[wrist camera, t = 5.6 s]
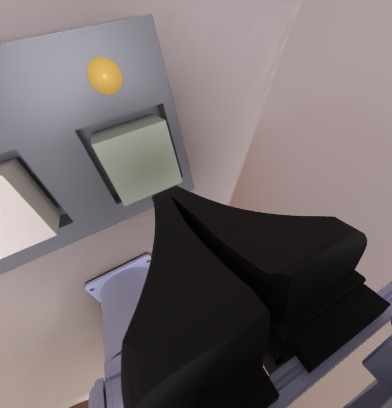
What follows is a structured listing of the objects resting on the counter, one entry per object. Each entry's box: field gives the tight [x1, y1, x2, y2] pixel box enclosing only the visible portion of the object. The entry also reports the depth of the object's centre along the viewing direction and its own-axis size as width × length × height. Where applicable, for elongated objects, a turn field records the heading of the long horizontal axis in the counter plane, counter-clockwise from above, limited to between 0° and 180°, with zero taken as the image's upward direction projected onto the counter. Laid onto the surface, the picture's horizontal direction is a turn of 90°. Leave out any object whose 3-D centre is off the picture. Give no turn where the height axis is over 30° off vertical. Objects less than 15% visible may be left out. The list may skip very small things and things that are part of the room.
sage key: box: [90, 114, 183, 206], centre depth 16 cm, size 5×5×3 cm
